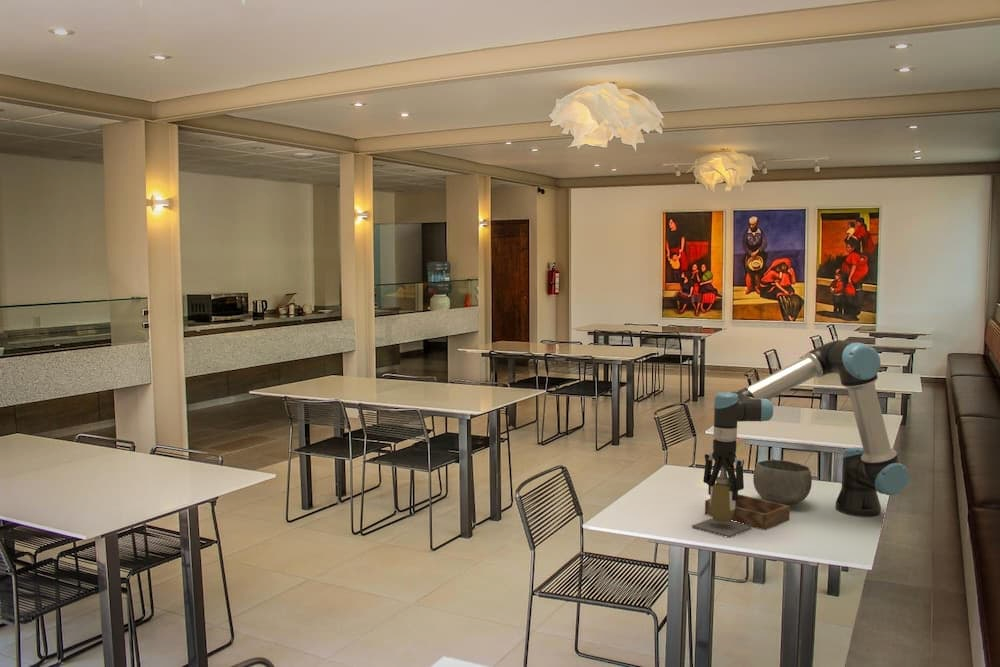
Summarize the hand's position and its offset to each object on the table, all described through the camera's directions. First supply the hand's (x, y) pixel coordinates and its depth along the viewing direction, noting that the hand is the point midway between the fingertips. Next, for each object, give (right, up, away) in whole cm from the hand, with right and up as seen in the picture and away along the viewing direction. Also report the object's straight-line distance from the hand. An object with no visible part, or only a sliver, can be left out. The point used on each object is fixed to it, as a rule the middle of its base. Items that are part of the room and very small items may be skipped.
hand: (722, 507), depth 277 cm
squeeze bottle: (0, -5, 0) cm, 5 cm away
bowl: (+30, -6, +31) cm, 44 cm away
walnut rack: (+12, -6, +14) cm, 19 cm away
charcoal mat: (0, -7, +1) cm, 7 cm away
